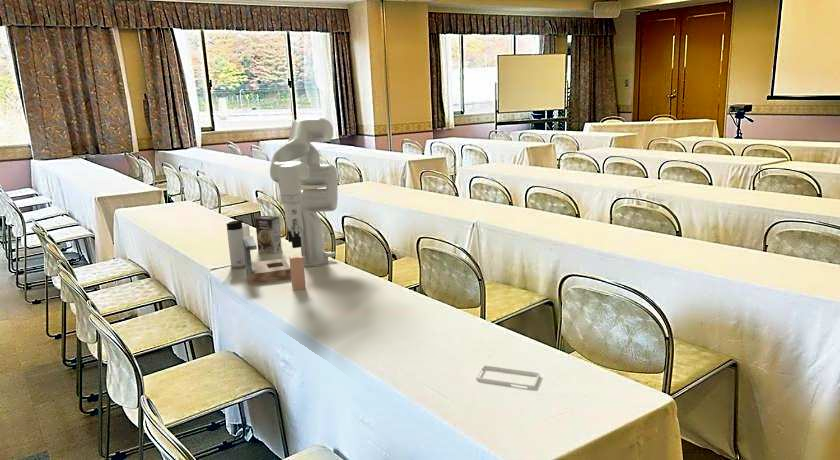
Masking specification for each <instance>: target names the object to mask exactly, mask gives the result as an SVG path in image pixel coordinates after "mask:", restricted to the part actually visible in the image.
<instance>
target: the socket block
mask: <svg viewBox="0 0 840 460" xmlns="http://www.w3.org/2000/svg"><path fill="white" fill-rule="evenodd" d="M242 238H243V248H244V257H245V267H244V268H245V273H246V277H247V280H248V285H255V284H260V283H261V284H262V283H269V282H277V281H283V280H291V271H290V264H289V263H288V262H287V259H286V258H280V259H279V258H277V259H270V260H262V261H260V260H259V261H254V262H252V258H251V257H252V256H251V255H252V254H251V251H255V250H258V245H257V244H256V242H255V239H254V236H253V235H250V236H249V237H242Z"/></svg>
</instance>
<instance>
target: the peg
mask: <svg viewBox="0 0 840 460" xmlns="http://www.w3.org/2000/svg"><path fill="white" fill-rule="evenodd" d="M288 257H289V258H288V259H289V267H290V271H291V279H290V280H291V281H290V282H291V288H292V289H293V291H298V290H303V289H306V288H307V287H306V274H305V266H304V260H303V256H302V255H301V254H294V255H289V256H288Z"/></svg>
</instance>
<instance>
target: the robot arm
mask: <svg viewBox="0 0 840 460" xmlns="http://www.w3.org/2000/svg"><path fill="white" fill-rule="evenodd" d="M289 131H290V132H289V136H288V141H287V143H285V144H283V145H282V146H281V147H279V149H277V150H276V151H275V153H273V156H272V159H271V163H270V168H269V176H270V178H271V180H272V181H273V182H275V183H279V184H278V185H279V195H280V204H281V205H283V206H284V217H285V225H286V228H287V240H288V242H289V243H291V247H292V249H298V248H300V253H301V254H300V255H302V256H303V260H304V267H310V268H311V267H318V266H323V265H325V264H328V263H329V257H330V258H332V257H336V251H325V247H324V235H323V233H324V231H323V223H322V220H321V218H320V216H319V215H318V214H317V213H320V212H321V213H325V212H333V211H335V210H336V209H337V208H338V198H339V197H338V196H339V195H338V171H337V168H336V166H335V165H333V164H331V163H321V161H320V159H321V157H320V155H321V154H320V153H319V151H318V149H317V148H316V147H315V146H314V145H313V144H312V143H317V142H318V143H319V142H320V143H321V142H330V141H331V140H333V139H332V138H333V136H334V127H333V124H332V123H331V122H330V120H327V119H326V118H323V117H306V118H305V117H302V118H297V119H295V120H294V121H293V122H292V124H291V127H290V130H289ZM295 160H298V161H295ZM302 187H306V188H307V189H306V188H305V189H302ZM321 187H322V188H321ZM323 187H324V188H323Z"/></svg>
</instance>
